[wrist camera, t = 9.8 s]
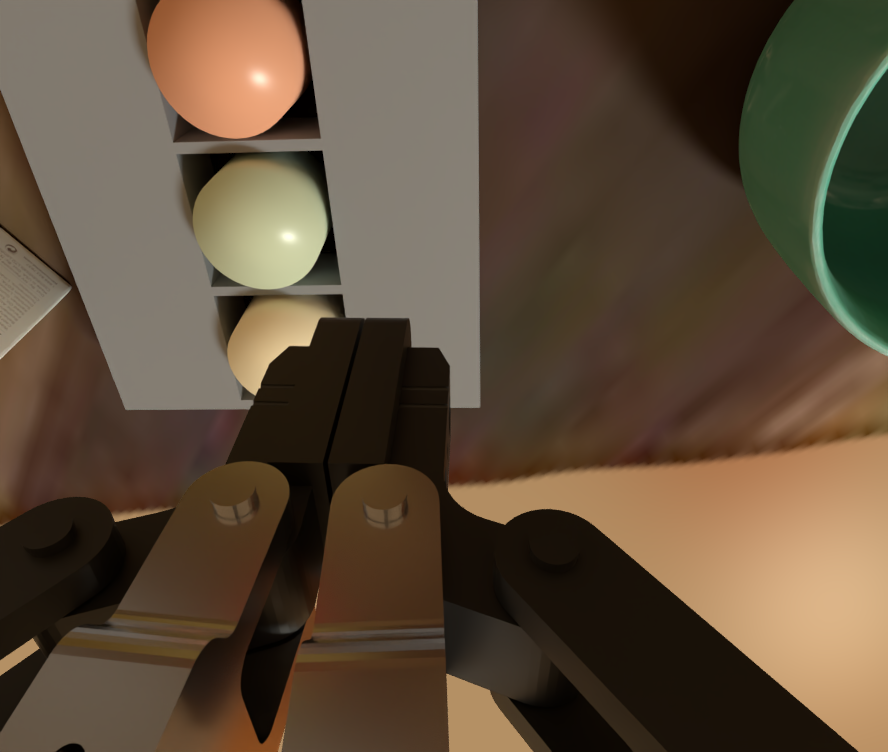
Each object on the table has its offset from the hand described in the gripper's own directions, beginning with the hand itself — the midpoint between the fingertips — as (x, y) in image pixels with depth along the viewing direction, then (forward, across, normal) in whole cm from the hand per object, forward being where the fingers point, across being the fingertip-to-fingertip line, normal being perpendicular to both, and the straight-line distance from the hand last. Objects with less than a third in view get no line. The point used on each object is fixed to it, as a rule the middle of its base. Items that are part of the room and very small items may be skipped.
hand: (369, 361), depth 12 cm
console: (+16, +6, +3) cm, 18 cm away
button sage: (+16, +6, +3) cm, 18 cm away
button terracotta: (+16, +6, -2) cm, 18 cm away
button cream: (+16, +6, +9) cm, 19 cm away
